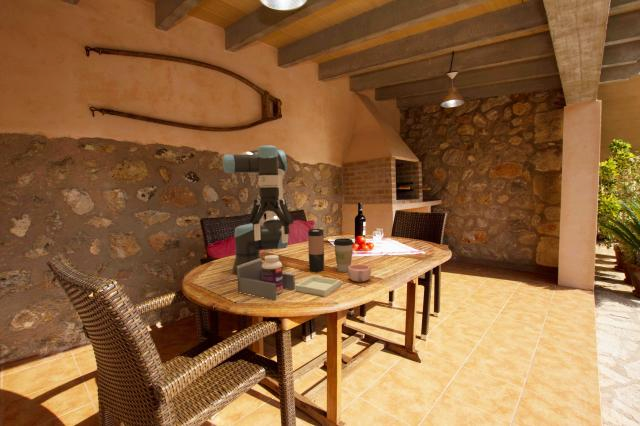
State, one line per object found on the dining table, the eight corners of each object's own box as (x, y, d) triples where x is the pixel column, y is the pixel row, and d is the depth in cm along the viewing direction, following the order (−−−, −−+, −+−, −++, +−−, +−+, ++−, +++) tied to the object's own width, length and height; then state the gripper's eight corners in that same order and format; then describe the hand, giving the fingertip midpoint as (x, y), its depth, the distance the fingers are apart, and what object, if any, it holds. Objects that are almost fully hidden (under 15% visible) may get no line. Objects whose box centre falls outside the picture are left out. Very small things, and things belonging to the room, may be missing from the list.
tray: (295, 291, 120) (295, 285, 120) (312, 281, 132) (312, 275, 132) (325, 296, 114) (325, 290, 114) (340, 285, 126) (340, 280, 125)
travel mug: (326, 268, 152) (325, 229, 150) (321, 272, 145) (320, 231, 143) (312, 267, 154) (311, 228, 152) (306, 271, 147) (305, 231, 145)
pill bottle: (279, 296, 115) (277, 259, 114) (259, 295, 117) (257, 258, 116) (285, 289, 123) (284, 254, 122) (267, 288, 125) (265, 253, 124)
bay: (238, 292, 120) (236, 266, 119) (260, 282, 132) (259, 258, 131) (274, 300, 111) (273, 271, 110) (294, 289, 123) (294, 263, 122)
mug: (373, 283, 128) (372, 269, 128) (349, 284, 128) (349, 270, 127) (367, 274, 140) (367, 262, 140) (345, 275, 140) (345, 263, 139)
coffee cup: (332, 267, 153) (332, 238, 152) (351, 266, 154) (351, 237, 152) (335, 273, 143) (334, 242, 142) (355, 272, 144) (355, 241, 143)
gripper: (238, 187, 119) (240, 240, 121) (289, 186, 107) (291, 245, 108) (251, 187, 125) (253, 237, 127) (301, 186, 113) (303, 242, 115)
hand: (271, 241), depth 118 cm, fingers open, 13 cm apart
